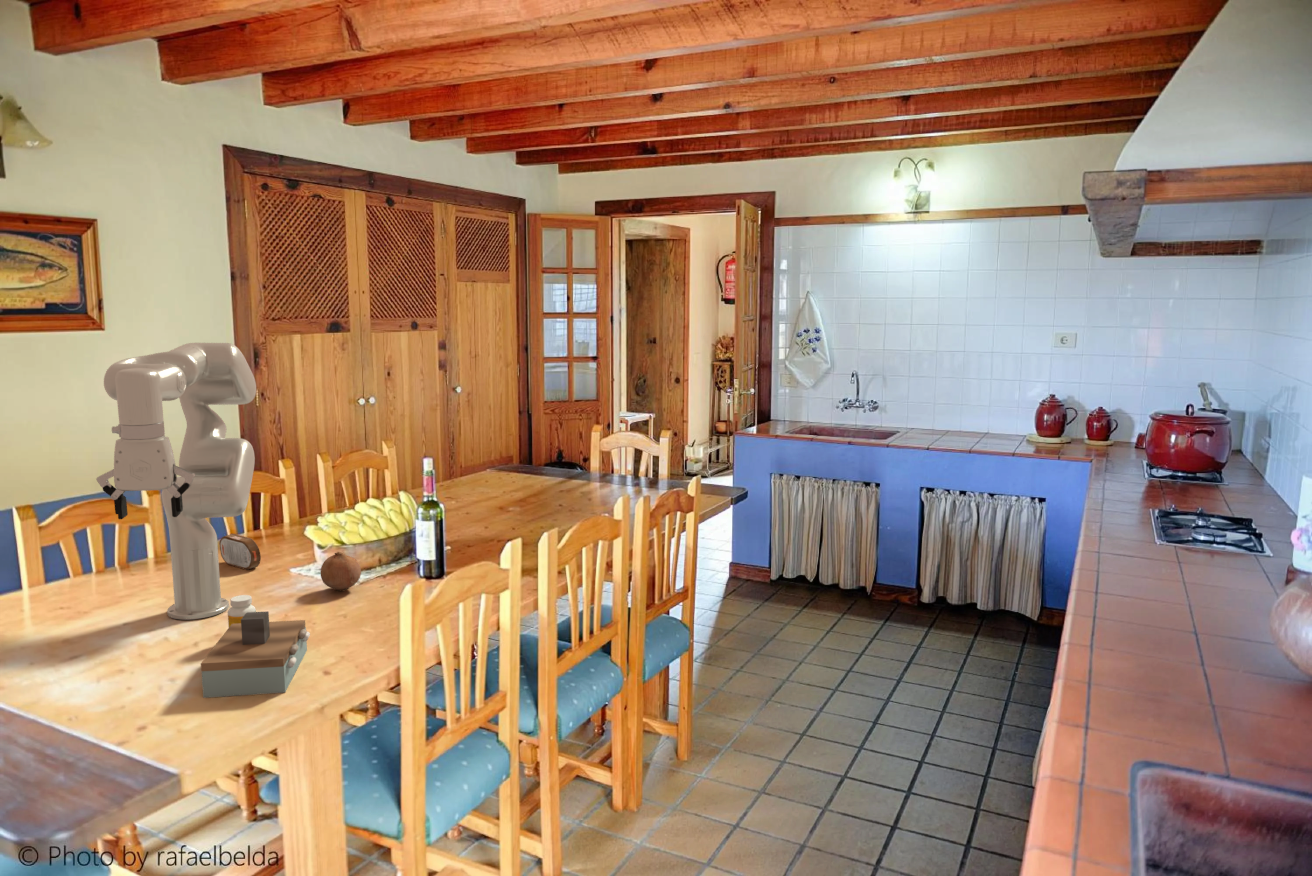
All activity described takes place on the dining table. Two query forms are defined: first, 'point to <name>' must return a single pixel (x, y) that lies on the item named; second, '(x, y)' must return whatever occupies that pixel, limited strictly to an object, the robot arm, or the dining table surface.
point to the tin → (240, 551)
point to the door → (255, 643)
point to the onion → (340, 572)
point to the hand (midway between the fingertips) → (150, 516)
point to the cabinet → (253, 677)
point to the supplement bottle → (239, 608)
